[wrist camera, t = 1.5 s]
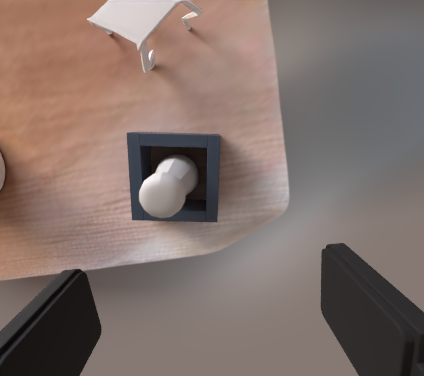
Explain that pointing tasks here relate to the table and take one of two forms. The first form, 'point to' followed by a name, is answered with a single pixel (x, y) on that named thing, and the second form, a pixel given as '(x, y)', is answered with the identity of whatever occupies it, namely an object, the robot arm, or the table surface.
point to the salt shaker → (168, 186)
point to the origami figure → (139, 21)
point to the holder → (142, 170)
